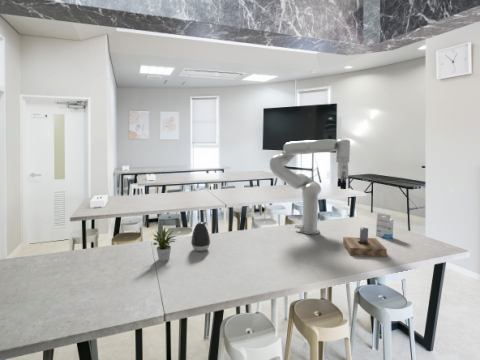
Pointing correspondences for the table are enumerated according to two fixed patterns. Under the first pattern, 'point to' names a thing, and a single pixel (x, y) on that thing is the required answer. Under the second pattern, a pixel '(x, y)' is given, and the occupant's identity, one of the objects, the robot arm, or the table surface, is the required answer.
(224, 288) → the table surface
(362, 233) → the peg
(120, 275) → the table surface
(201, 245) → the dark grey egg shape
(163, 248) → the house plant
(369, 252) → the socket
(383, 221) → the ink box
